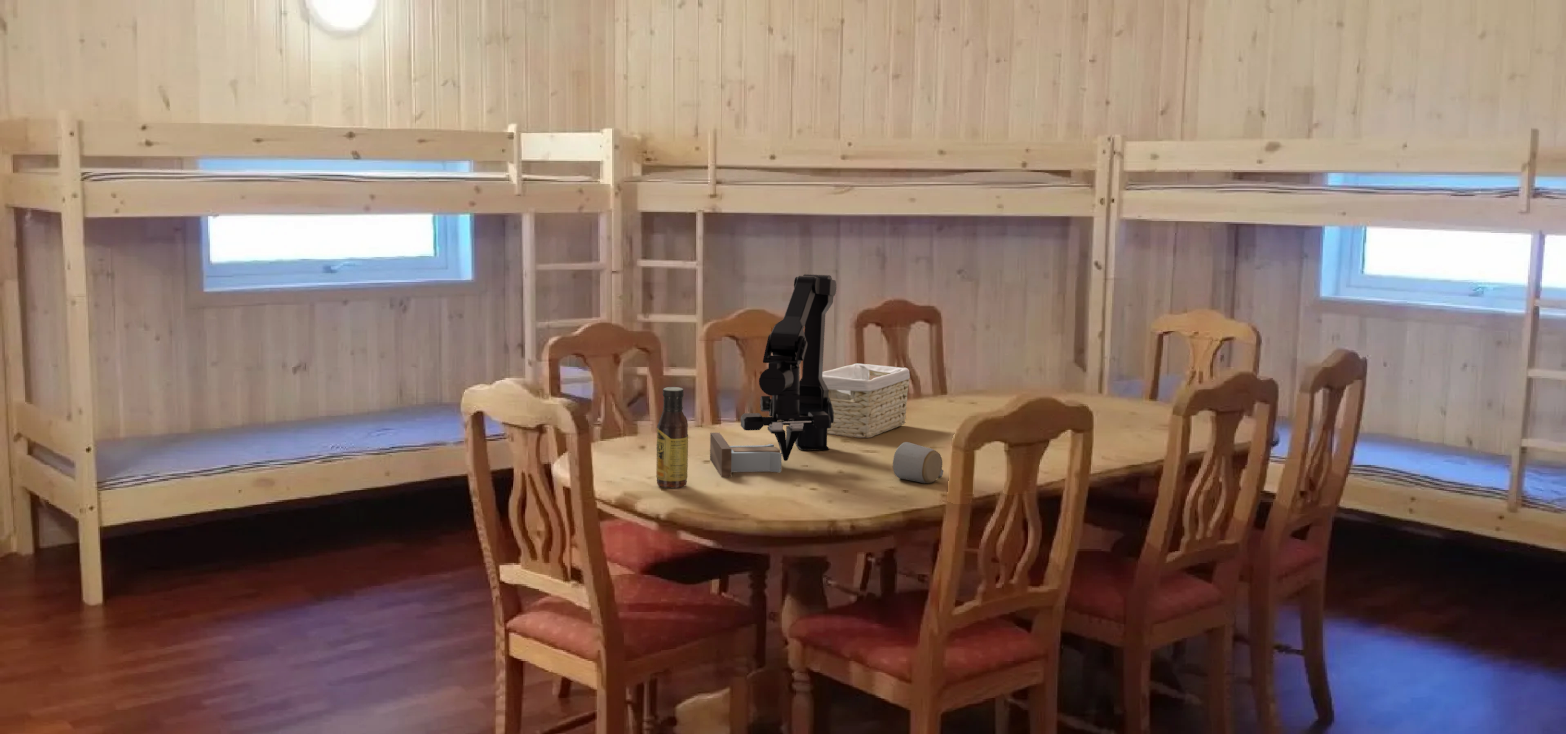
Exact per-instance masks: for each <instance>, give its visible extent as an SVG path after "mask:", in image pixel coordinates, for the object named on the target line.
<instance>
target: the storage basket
mask: <svg viewBox="0 0 1566 734" xmlns="http://www.w3.org/2000/svg"><path fill="white" fill-rule="evenodd" d="M870 376H873V378H872V379H870ZM874 376H876V377H874ZM822 378H823V380H824V382H825V384H826V386H827V388H828V390H829V398H830V400H831V404H832V407H833V411H834V423H831V428H827V435H828V434H829V435H837V436H842V437H843V436H844V437H850V438H851V437H852V438H853V437H854V438H856V439H860V438H873V437H874V436H877V435H880V434H882V433H885V432H887V431H891V430H893V429H896V428H898V427H902V426H903V425H905V424H906V423H907V422H906V413H907V403H908V393H909V385H910V379H911V375H910V370H909V368H907V367H898V366H896V367H895V366H890V365H889V366H888V365H879V364H878V365H877V364H871V363H870V364H868V363H867V364H866V363H853V364H850V365H845V366H841V367H837V368H833V369H829V370H824V371H823V372H822Z"/></svg>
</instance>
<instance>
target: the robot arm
mask: <svg viewBox="0 0 1566 734" xmlns="http://www.w3.org/2000/svg"><path fill="white" fill-rule="evenodd" d="M836 294H837V281H836V280H834V279H833V278H832V276H831V275H830V274H813V273H812V274H811V273H810V274H809V273H804V274H803V275H799V276H795V278H794V281H793V291H792V293H791V296H790V299H789V302H788V305H787V308H786V311H785V313H784V317H783V318H782V319H781V320H780V321H779V322H776V324H775V325H774V327H773V328H772V331H771V332H770V334H768V336H767V340H766V345H765V349H764V354H763V358H762V362H763V364H767V365H768V368H767V369H765V370H763V371H762V373H761V374H760V376H759V379H758V385H759V388H760V389H761V391H762V392H763V393H764V394H766V395H761V396H760V400H759V401H760V403H759V405H760V407H759V408H760V412H768V416H763V415H761V413H759V412H752V413H751V412H749V413H748V412H746V413H745V412H744V413H743V414H742V415H740V427H741V428H742V429H743V430H744V431H760V430H761V429H762V428H763V427H765V426H767V430H768V431H769V432H770V434H772V435H774V437H775V438H776V440H777V444H778V446H779V450H780V453H782V456H781V457H782V458H783V459H782V460H783V461H784V462H788V460H789V458H790V455H791V452H792V450H793V447H794V445H795V446H796V447H797V448H798V449H799V450H801V451H824V450H825V451H827V450H830V449H829V446H828V433H827V428H831V423H834V411H833V407H832V404H831V400H830V398H829V390H828V388H827V386H826V384H825V382H824V380H823V378H822V372H824V371H823V369H824V367H823V366H824V349H825V333H826V331H825V329H826V328H825V326H826V314H827V312H828V311H829V309H830V308H831V306H832V305H833V304H834V296H836ZM801 364H802V372H800V370H801V369H800V365H801ZM800 373H801V374H800ZM800 375H802V376H801V378H800ZM771 396H772V397H771ZM784 426H785V429H786V430H784Z"/></svg>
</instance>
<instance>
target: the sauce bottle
mask: <svg viewBox="0 0 1566 734" xmlns="http://www.w3.org/2000/svg"><path fill="white" fill-rule="evenodd" d="M662 395H663V407H662V412H661V416H660V418H659V420H658V423H657V426H656V468H655V469H656V471H655V472H656V475H655V477H656V484H657V485H658V486H659V487H661V488H663V489H664V488H665V489H666V488H667V489H668V488H669V489H681V488H684V487H686V485H687V484H688V483H687V482H688V481H687V480H688V470H689V469H688V466H689V465H688V463H689V460H688V458H689V457H688V456H689V455H688V453H689V434H688V431H689V428H688V427H689V424H688V420H687V416H686V415H684V414H685V413H684V412H683V408H684V406H683V398H684V388H682V387H676V386H668V387H664V388H663V389H662Z"/></svg>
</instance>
